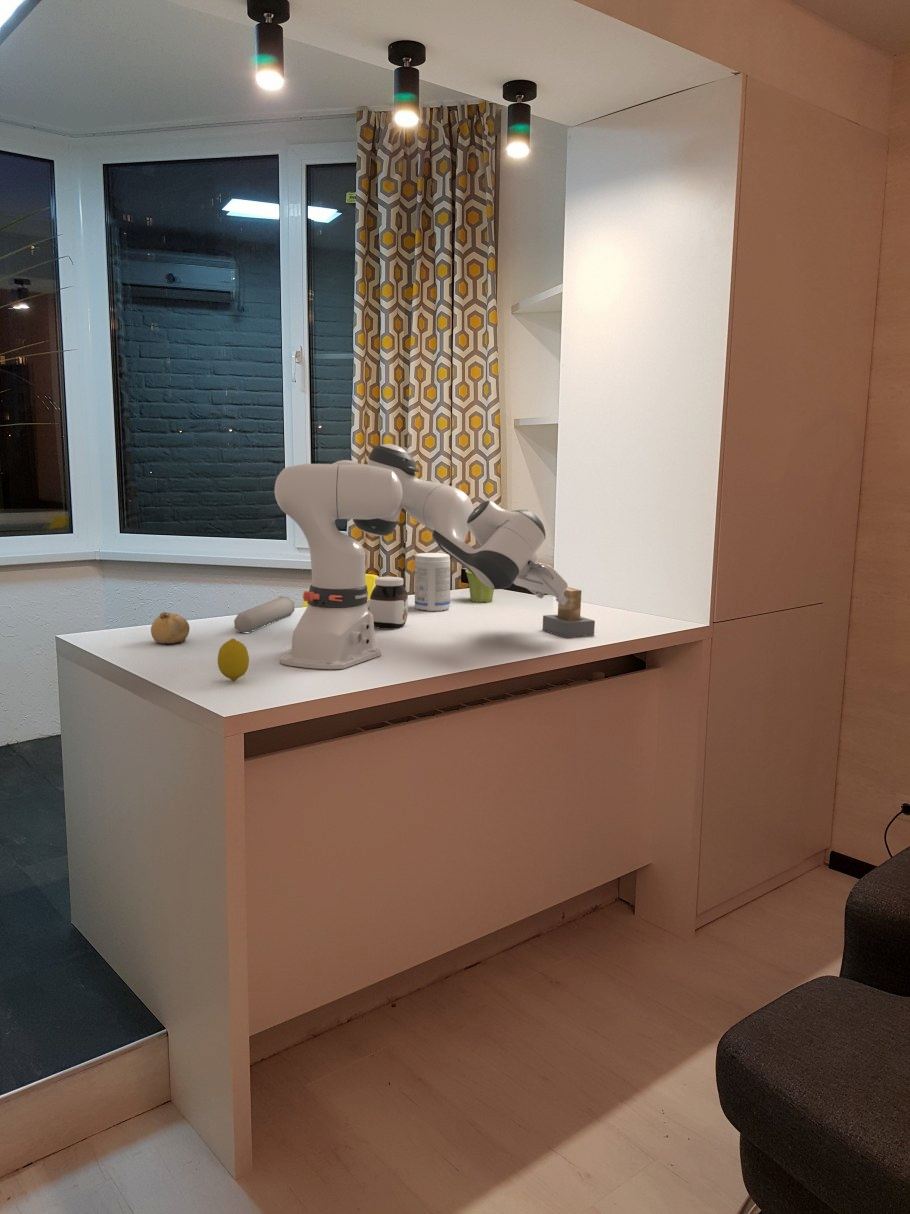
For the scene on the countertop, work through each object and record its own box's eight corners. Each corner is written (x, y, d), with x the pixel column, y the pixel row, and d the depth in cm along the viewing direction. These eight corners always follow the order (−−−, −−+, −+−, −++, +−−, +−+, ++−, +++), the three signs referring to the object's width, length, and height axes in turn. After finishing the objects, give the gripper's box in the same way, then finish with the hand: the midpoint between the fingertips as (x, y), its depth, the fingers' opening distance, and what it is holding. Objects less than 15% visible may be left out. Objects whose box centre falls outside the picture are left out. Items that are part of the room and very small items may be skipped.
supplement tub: (448, 606, 251) (450, 552, 249) (450, 612, 242) (452, 557, 239) (413, 605, 251) (414, 552, 248) (414, 611, 241) (415, 556, 239)
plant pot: (487, 605, 254) (488, 574, 253) (458, 601, 259) (459, 571, 258) (503, 600, 262) (504, 570, 261) (474, 597, 267) (475, 567, 266)
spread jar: (394, 631, 215) (394, 582, 213) (351, 626, 219) (351, 578, 217) (415, 622, 226) (415, 576, 224) (374, 618, 230) (374, 572, 228)
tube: (253, 618, 206) (297, 600, 230) (233, 610, 207) (278, 592, 231) (247, 640, 208) (291, 619, 232) (226, 631, 209) (272, 611, 233)
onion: (156, 639, 201) (155, 607, 200) (193, 639, 202) (192, 607, 200) (147, 647, 193) (146, 614, 192) (185, 647, 194) (185, 614, 193)
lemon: (211, 683, 165) (210, 639, 164) (229, 676, 170) (229, 634, 169) (238, 686, 163) (237, 642, 162) (255, 679, 168) (254, 637, 167)
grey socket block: (566, 637, 213) (566, 622, 212) (542, 629, 221) (543, 615, 221) (594, 635, 216) (594, 620, 216) (569, 627, 225) (570, 613, 224)
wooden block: (569, 630, 216) (571, 591, 214) (557, 626, 220) (558, 587, 218) (579, 629, 217) (581, 590, 216) (567, 626, 222) (569, 587, 220)
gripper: (552, 554, 200) (586, 596, 206) (505, 544, 218) (538, 583, 224) (534, 575, 199) (569, 617, 205) (488, 563, 217) (522, 602, 223)
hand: (552, 599), depth 215 cm, fingers open, 8 cm apart
